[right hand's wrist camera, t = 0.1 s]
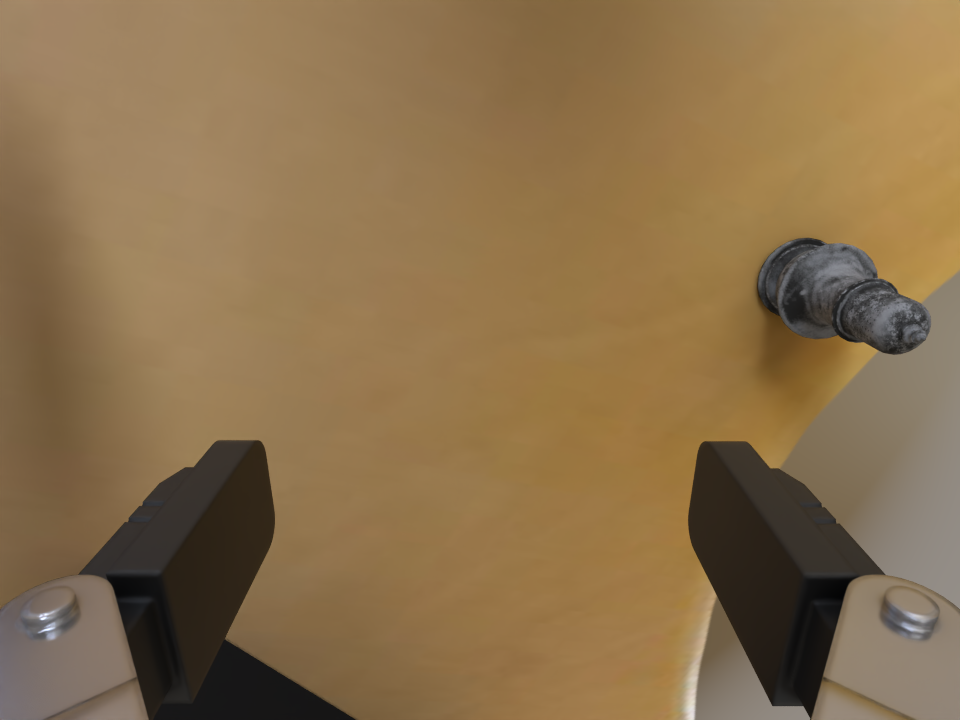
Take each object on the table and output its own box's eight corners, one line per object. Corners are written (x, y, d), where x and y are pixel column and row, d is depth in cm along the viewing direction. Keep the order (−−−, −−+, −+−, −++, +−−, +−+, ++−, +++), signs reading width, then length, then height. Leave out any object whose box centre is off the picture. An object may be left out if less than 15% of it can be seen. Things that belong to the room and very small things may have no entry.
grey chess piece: (864, 265, 39) (1017, 322, 28) (799, 337, 41) (919, 417, 30) (797, 215, 38) (930, 252, 27) (734, 290, 40) (833, 356, 29)
